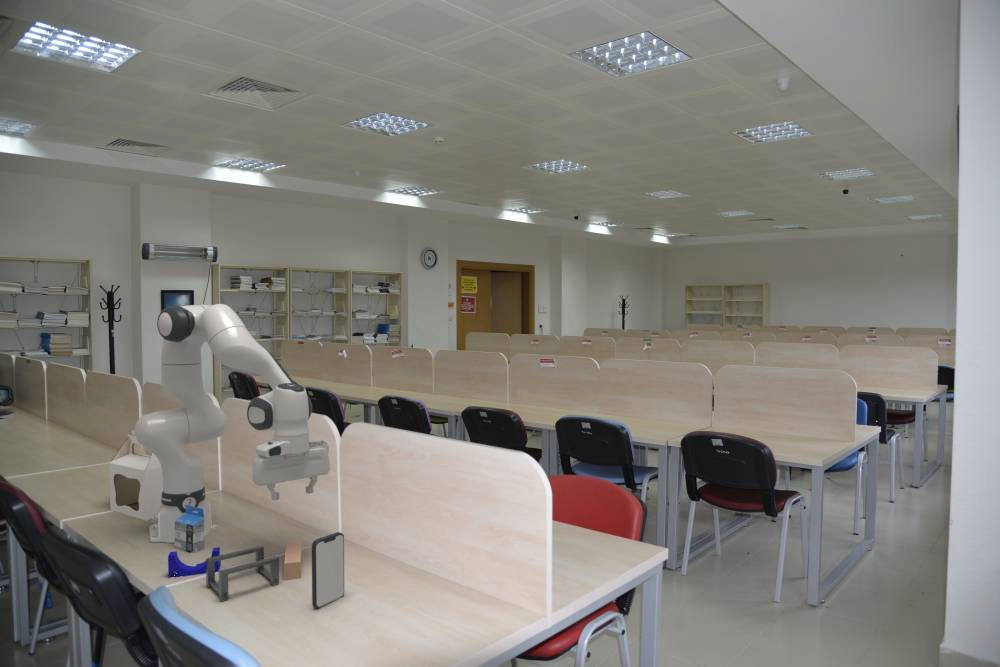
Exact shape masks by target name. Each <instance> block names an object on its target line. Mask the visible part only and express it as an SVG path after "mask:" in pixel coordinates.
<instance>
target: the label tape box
mask: <svg viewBox="0 0 1000 667" xmlns="http://www.w3.org/2000/svg"><path fill="white" fill-rule="evenodd" d="M185 508H186V513H185V514H184V515H182V516H181V517H180V518H178V519H177V520H175V540H174V543H173V544H174V546H173V547H174V549H175V550H180V551H183V552H186V553H190V554H195V553H198V552H200V551H202V550H205V536H204V511H203V509H202V508H198V507H194V506H189V505H185ZM192 510H195V511H197V512H198V513H195V512H192Z"/></svg>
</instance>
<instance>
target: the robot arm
mask: <svg viewBox="0 0 1000 667" xmlns="http://www.w3.org/2000/svg"><path fill="white" fill-rule="evenodd" d="M156 323H157V325H156V327H157V330H158V333H159V335H160V336H161V338H163V341H162V346H161V354H160V355H161V356H160V357H161V358H160V360H161V361H160V365H161V366H160V369H161V370H160V371H161V372H160V375H161V382H160V384H161V389H162V390H163V392H164V393H165V394H167V395H168V396H171V397H173V398H174V399H178V400H179V401H181V402H180V403H181V405H182V407H181V408H174V409H165V410H157V411H154V412H149V413H147V414H142V415H141V416H140V417H139V419H138V420H137V422H136V423H135V427H134V430H135V436H136V439H137V441H138V442H139V443H140V445H141V446H142V448H145V449H147V450H148V451H150V452H151V453H152V452H153V453H154V454H155V456H156V457H157V458H158V460H159V462H160V464H161V468H162V475H163V491H162V495H161V503H162V504H161V506H160V507H159V509H158V510H157V515H151V519H150V520H151V521H150V522H151V523H152V524H150V525H149V527H148V531H149V533H148V534H149V543H168V544H169V543H170V544H171V543H173V544H174V540H175V520H177V519H178V518H180V517H181V516H182V515H184V514H185V513H186V508H185V505H189V506H194V507H198V508H202V509H203V511H204V537H205V536H206V535H208V534H209V533H210V532H211V531H212V530H214V529H215V528H217V524H214V523H212V511H211V503H209V502H208V501H206V487H205V486H204V464H203V462H202V461H201V460H200V459H199V458H198V457H195V456H193V455H191V454H188V453H185V452H184V446H185V445H190V444H198V443H204V442H208V441H212V440H215V439H217V438H220V437H222V436H223V435H224V433H225V431H226V430H227V426H228V425H227V424H228V423H227V422H228V420H227V416H226V414H225V412H224V411H223V410H222V409H221V408H219V407H218V406H217V405H215V404H214V403H213V402H212V400H210V399H209V397H208V396H207V394H206V391H205V388H204V383H203V370H202V369H203V368H202V367H203V366H202V347H203V345H204V344H205V343H207V345H208V347H209V348H210V350H211V352H212V354H213V356H214V357H215V358H216V360H217V361H218V362H219V363H220V364H221V365H223V366H225V367H227V368H230V369H234V370H240V371H245V372H250V373H253V374H256V375H258V376H260V377H261V378H263V379H264V380H265V381H266V383H267V384H268V385H269V387H270V388H271V389H272V390H270V391H269V392H267V393H264V394H263V395H259V396H255V397H254V398H252V399H251V400H250V402H249V404H248V406H247V409H246V410H247V411H246V415H247V416H246V417H247V421H248V423H249V424H250V426H251V427H252V428H253V429H255V430H256V431H263V432H264V431H271V430H274V436H273V437H274V438H272V439H270V440H268V441H266V442H263V443H261V444H259V445H257V446H256V447H255V453H256V454H257V456H255V458H254V461H253V463H252V482H253V483H254V484H255V485H257V486H258V487H263V486H266V488H267V490H268V491H269V492H270V493H271V500H272V501H274V502H275V501H278V500H280V492H278V491H275V488H276V484H280V483H285V482H291V481H296V480H302V479H307V478H308V479H309V481H310V482H309V484H308V485H307V486H305V494H307V495H310V494H313V493H314V489H315V488H314V487H315V486H316V484H317V481H318V477H319V476H324V475H328V474H329V473H330V470H331V465H330V457H329V452H330V451H329V449H330V446H329V444H328V443H327V442H326V441H324V440H317V441H310V430H309V427H308V422H309V419H310V417H312V416H311V415H312V413H313V404H312V400H311V398H310V397H309V395H308V394H307V390H306V387H304V386H303V385H301V384H299V383H295V381H294V380H293V379H292V378H291V376H290V375H289V374H288V372H287V371H286V370H285V369H284V367H283V366H282V364H280V362H279V361H278V360H277V358H276V357H275V356H274V355H273V353H271V352H270V351H268V350H267V349H266V348H265V347H263V346H262V345H261V344H260V343H258V341H257V340H256V338H254V337H253V336H252V335H251V334H250V332H249V330H248V329H247V327H246V325H245V324H244V322H243V320H242V319H241V318H240V316H238V314H237V313H236V312H235V311H234V309H232V307H230V306H229V305H227V304H224V303H216V304H211V305H210V304H198V303H197V304H191V305H187V304H186V305H171V306H167V307H165V308H163V309H162V310H161V312H160V313H159V314H158V317H157V322H156ZM192 512H195V513H198V512H197V511H195V510H192ZM153 523H154V524H153Z"/></svg>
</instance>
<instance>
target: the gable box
mask: <svg viewBox="0 0 1000 667" xmlns="http://www.w3.org/2000/svg"><path fill="white" fill-rule="evenodd" d="M127 436H128V438H127V439H126V440H125V441H124V442H123V444H122V445H121V446H120V448H119V449H118V450H117V452H116V453H115V455H114V456H113V458H112V459H111V461H110V462H109V466H108V467H109V498H110V499H109V501H110V502H109V507H110V508H109V510H110V511H114V512H116V513H120V514H123V515H127V516H129V517H133V518H135V519H139V520H143V521H149V520H151V515H157V510H158V509H159V507H160V506H161V504H162V503H161V495H162V491H163V475H162V468H161V464H160V462H159V460H158V458H157V457H156V456H155V454H154V453H153V452H151V455H148V454H147V453H146V451H145V450H144V447H143V446H142V445H141V444H140V443H139V442H138V441H137V439H136V436H135V429H133V430H131V433H127ZM135 503H138V510H136V509H134V508H133V507H131V506H130V505H132V504H135Z"/></svg>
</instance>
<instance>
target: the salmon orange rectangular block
mask: <svg viewBox="0 0 1000 667" xmlns="http://www.w3.org/2000/svg"><path fill="white" fill-rule="evenodd" d="M284 553H285V554H284V561H283V564H284V565H283V568H284V570H283V571H284V576H283V578H284V581H290V580H291V581H292V580H297V579H302V540H296V541H295V540H294V541H286V542H285V552H284Z"/></svg>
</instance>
